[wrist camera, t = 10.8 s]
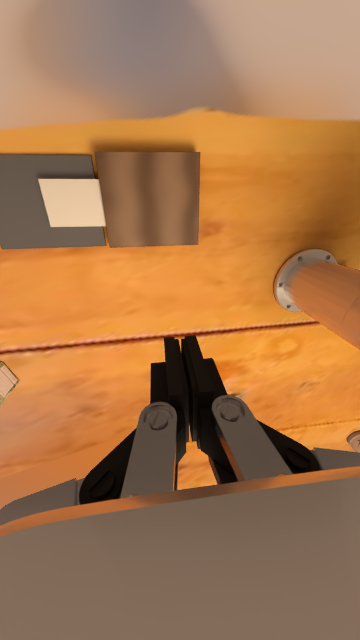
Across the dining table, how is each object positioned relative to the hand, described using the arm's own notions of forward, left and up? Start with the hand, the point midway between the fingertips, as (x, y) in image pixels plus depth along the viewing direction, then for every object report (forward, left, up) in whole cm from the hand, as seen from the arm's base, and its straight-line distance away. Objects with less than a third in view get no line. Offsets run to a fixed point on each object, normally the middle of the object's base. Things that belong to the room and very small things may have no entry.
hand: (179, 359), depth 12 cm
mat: (+17, -8, -29) cm, 35 cm away
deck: (+1, -8, -29) cm, 30 cm away
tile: (+12, -8, -29) cm, 32 cm away
